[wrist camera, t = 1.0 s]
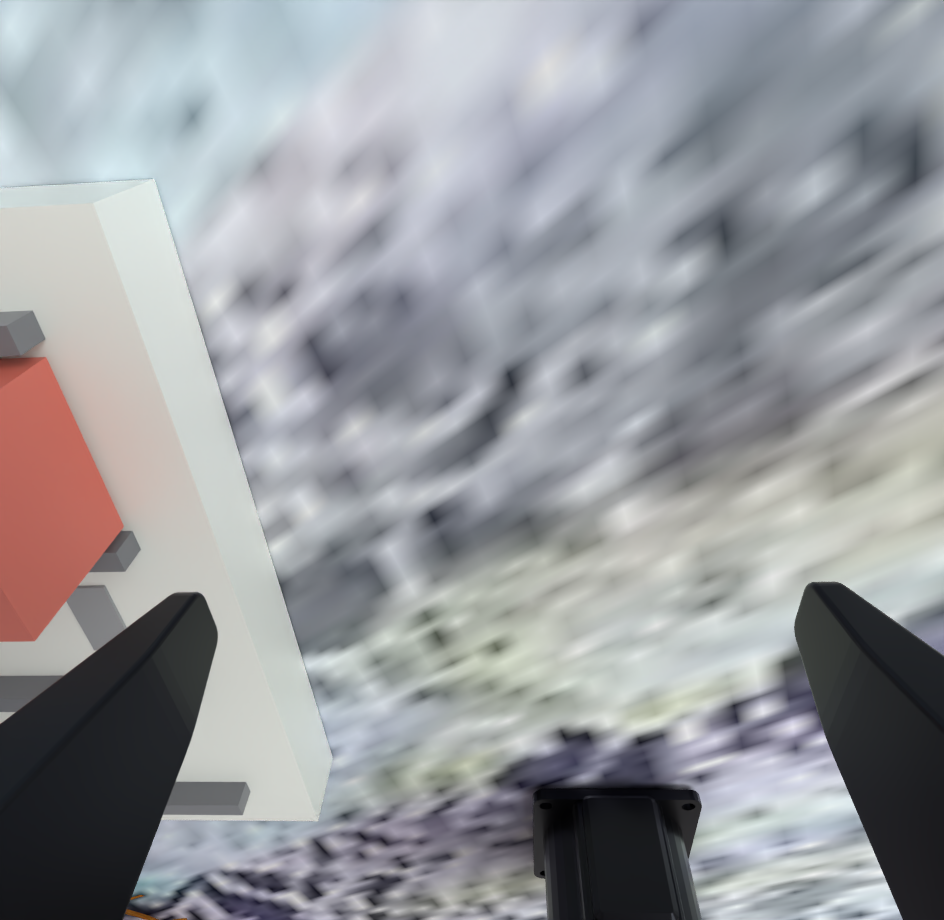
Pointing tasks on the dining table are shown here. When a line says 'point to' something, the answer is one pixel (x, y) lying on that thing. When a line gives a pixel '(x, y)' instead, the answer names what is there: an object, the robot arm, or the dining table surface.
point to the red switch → (44, 500)
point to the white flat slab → (158, 492)
